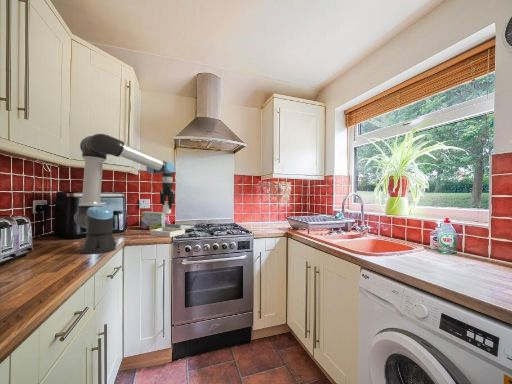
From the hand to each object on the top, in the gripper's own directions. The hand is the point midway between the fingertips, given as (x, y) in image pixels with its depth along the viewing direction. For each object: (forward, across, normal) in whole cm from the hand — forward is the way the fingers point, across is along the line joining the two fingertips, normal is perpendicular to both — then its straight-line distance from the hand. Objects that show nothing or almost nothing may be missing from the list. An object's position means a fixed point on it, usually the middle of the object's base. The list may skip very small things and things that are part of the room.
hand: (166, 213), depth 170 cm
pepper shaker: (+1, 0, 0) cm, 1 cm away
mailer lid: (+12, 0, -14) cm, 19 cm away
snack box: (+17, +27, -12) cm, 34 cm away
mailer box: (+16, 0, -2) cm, 16 cm away
